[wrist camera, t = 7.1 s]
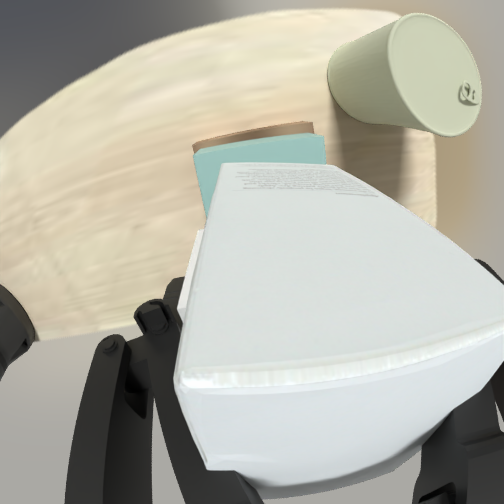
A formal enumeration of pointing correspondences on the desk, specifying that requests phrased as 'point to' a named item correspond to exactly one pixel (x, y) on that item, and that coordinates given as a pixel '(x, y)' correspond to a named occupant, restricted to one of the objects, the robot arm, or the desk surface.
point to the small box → (326, 330)
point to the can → (409, 77)
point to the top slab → (256, 156)
